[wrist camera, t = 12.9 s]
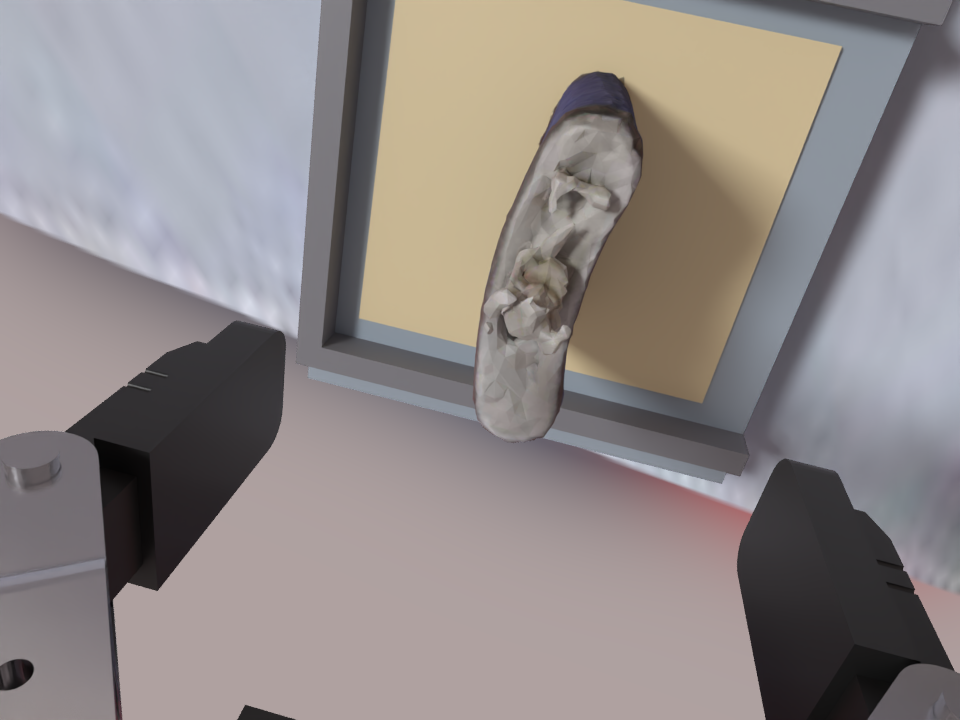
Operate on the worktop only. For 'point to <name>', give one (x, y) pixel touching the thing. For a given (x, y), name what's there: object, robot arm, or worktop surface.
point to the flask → (553, 255)
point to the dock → (640, 230)
